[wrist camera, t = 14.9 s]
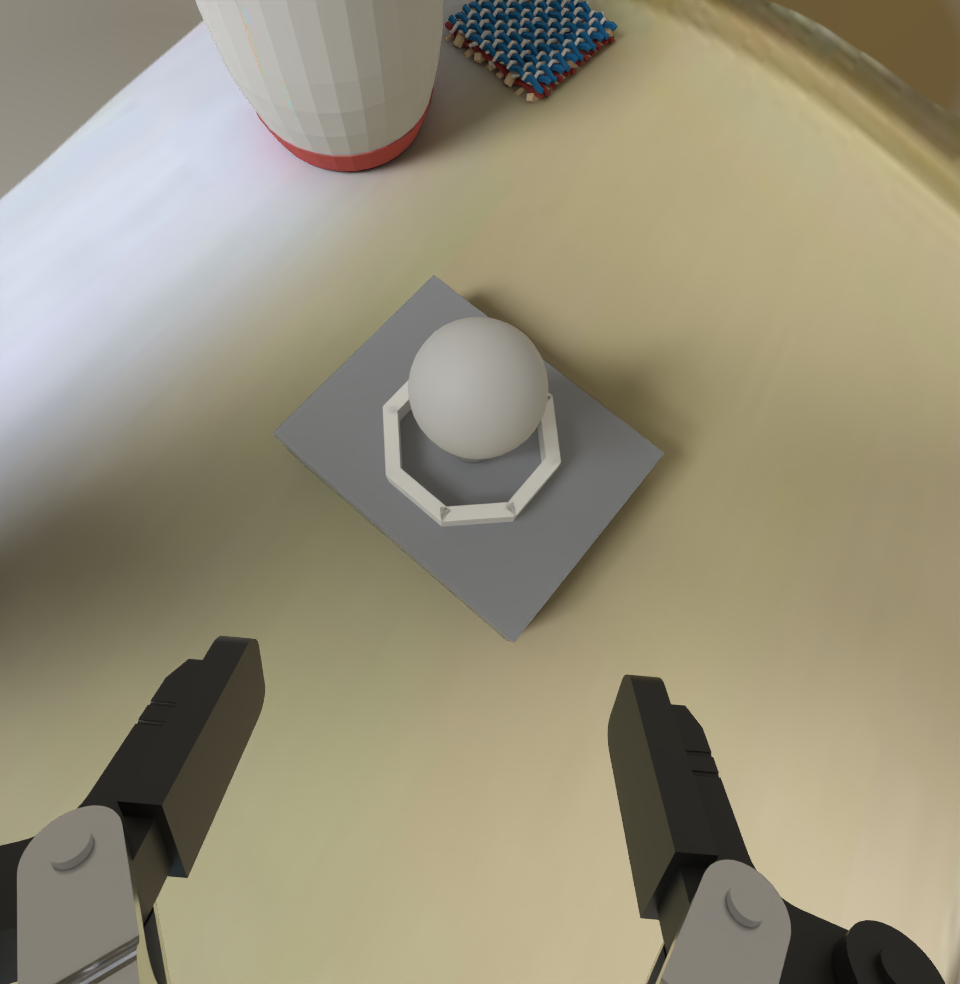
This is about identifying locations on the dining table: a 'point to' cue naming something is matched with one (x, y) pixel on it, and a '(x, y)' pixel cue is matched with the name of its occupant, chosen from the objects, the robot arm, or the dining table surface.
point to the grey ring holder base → (468, 472)
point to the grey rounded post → (478, 388)
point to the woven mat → (531, 39)
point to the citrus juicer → (333, 72)
